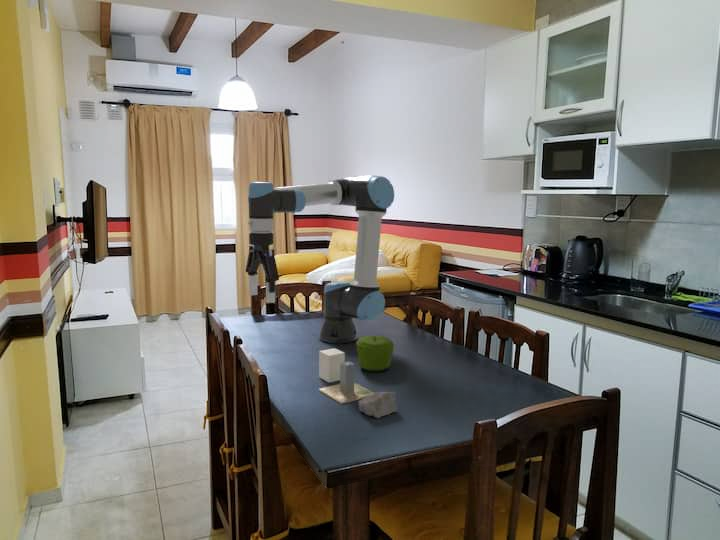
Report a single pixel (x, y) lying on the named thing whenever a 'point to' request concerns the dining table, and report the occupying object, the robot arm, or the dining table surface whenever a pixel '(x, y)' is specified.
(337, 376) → the cream cuboid
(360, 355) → the green apple
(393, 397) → the stone
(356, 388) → the square base with post
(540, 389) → the dining table surface
